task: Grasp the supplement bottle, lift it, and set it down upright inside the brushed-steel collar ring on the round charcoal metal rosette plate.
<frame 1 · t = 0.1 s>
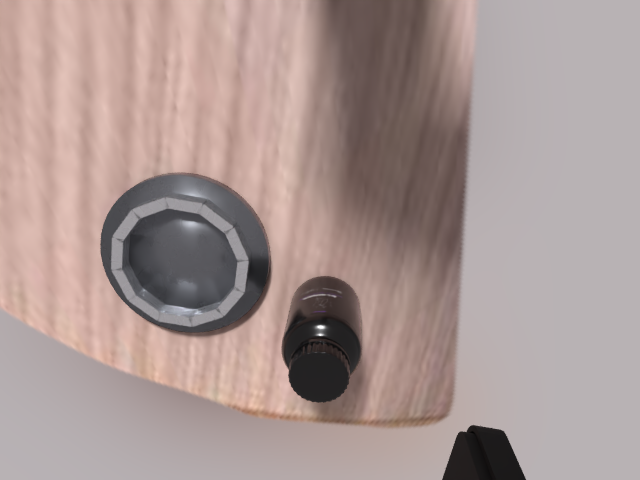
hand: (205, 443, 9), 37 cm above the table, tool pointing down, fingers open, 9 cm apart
supplement bottle: (325, 304, 49), on the table
rosette plate: (188, 253, 48), on the table
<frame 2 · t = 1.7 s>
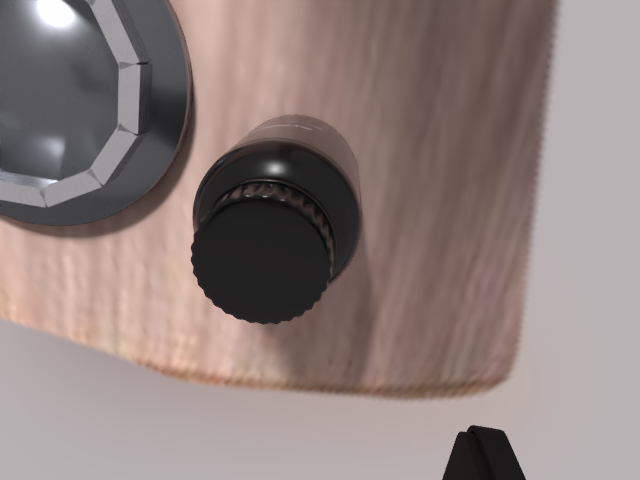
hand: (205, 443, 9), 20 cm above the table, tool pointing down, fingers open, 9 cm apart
supplement bottle: (295, 175, 28), on the table
rosette plate: (40, 74, 26), on the table
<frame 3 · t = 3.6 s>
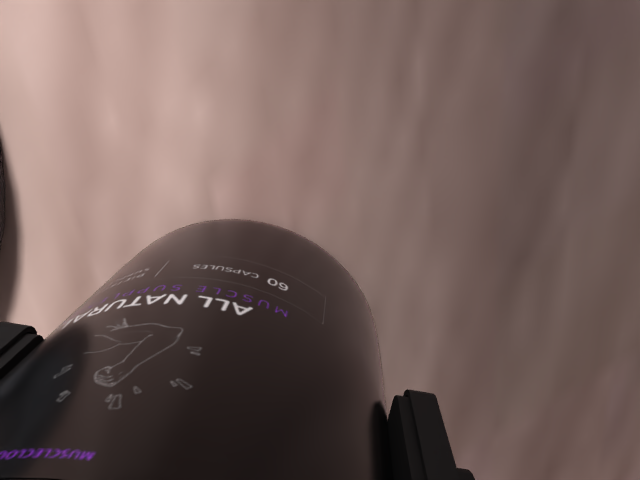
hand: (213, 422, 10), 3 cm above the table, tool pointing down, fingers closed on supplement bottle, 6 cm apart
supplement bottle: (243, 333, 13), on the table, touching gripper
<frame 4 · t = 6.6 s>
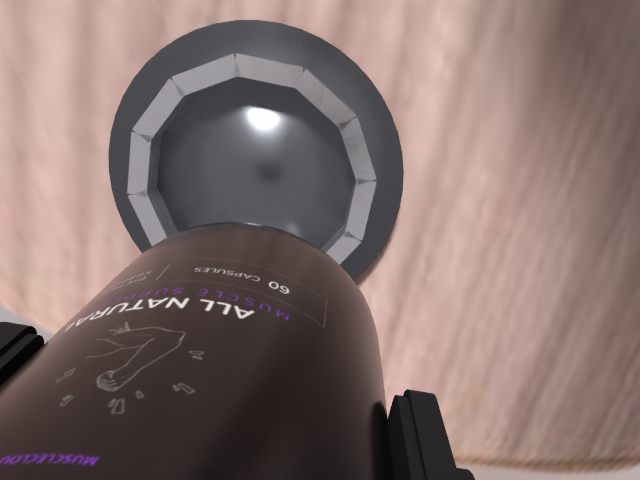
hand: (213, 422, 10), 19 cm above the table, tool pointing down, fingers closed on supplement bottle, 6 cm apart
supplement bottle: (244, 335, 13), point 16 cm above the table, touching gripper
rosette plate: (258, 176, 28), on the table
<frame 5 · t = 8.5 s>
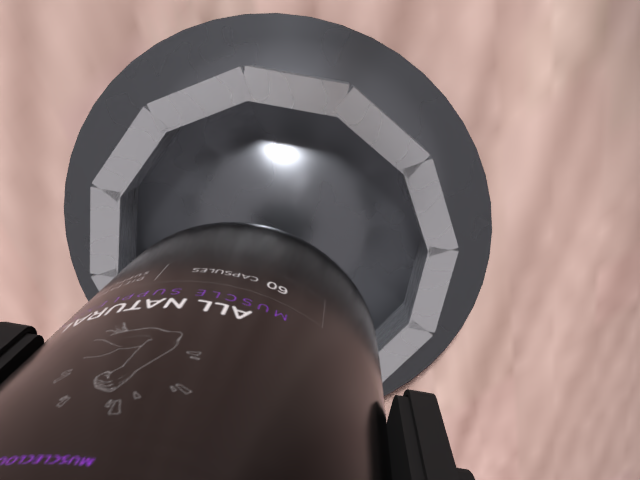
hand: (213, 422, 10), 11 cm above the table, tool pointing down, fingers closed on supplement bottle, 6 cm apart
supplement bottle: (243, 335, 13), point 7 cm above the table, touching gripper
rosette plate: (279, 235, 20), on the table
when the fingers open (5 cm above the table, at t = 10.0 s): supplement bottle drops 1 cm, resting on rosette plate.
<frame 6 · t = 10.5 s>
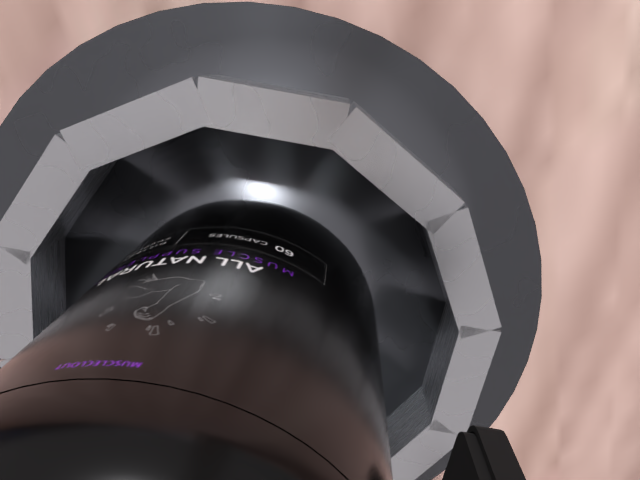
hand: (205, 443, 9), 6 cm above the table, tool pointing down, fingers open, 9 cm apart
supplement bottle: (251, 306, 14), point 1 cm above the table, touching rosette plate
rosette plate: (257, 295, 15), on the table
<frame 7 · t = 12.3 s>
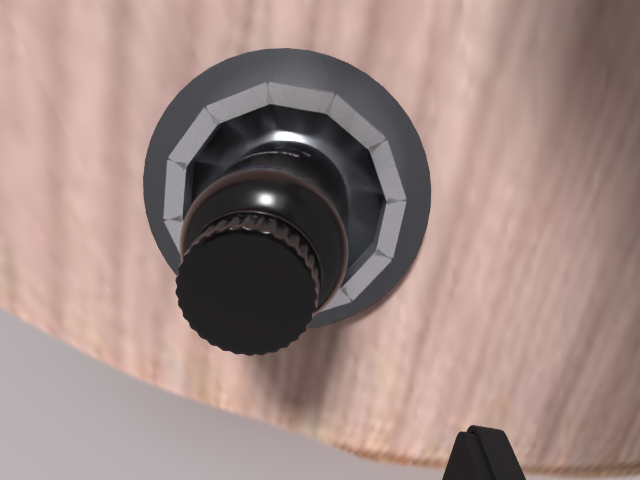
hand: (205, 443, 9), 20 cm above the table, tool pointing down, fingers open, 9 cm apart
supplement bottle: (286, 198, 28), point 1 cm above the table, touching rosette plate
rosette plate: (288, 196, 29), on the table
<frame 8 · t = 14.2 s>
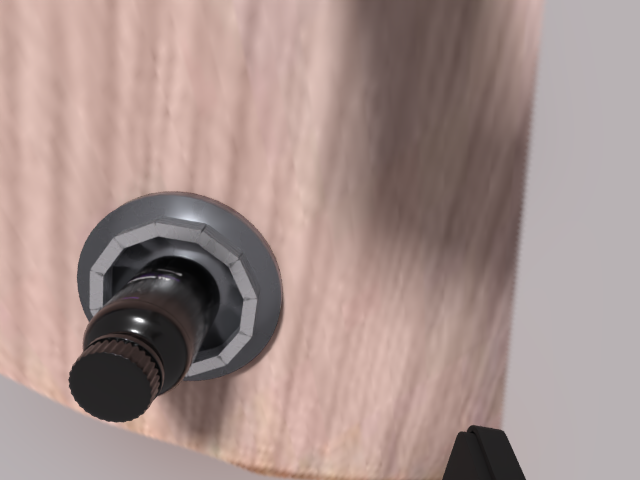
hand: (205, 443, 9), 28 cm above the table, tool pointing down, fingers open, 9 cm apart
supplement bottle: (179, 291, 39), point 1 cm above the table, touching rosette plate
rosette plate: (183, 288, 40), on the table
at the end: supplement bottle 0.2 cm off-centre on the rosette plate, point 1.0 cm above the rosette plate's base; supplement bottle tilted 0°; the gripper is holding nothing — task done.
